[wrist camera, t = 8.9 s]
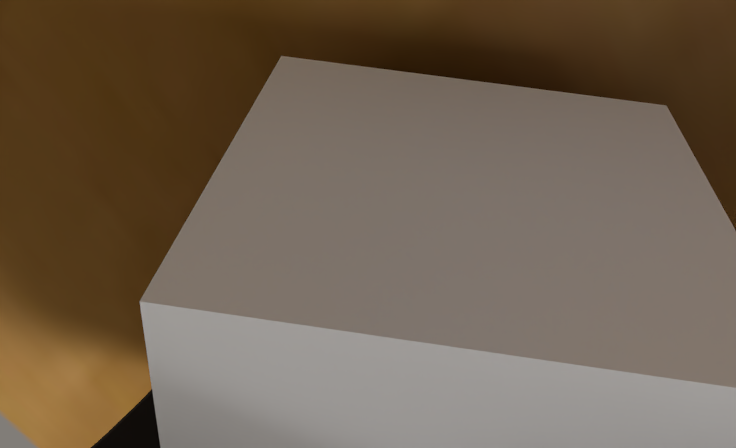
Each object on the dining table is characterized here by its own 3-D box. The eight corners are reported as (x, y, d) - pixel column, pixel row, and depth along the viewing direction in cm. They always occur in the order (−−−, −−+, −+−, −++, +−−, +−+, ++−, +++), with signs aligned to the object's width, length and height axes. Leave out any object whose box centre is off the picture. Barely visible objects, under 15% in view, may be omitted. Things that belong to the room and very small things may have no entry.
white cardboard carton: (281, 55, 11) (140, 300, 6) (666, 105, 11) (830, 402, 6) (275, 440, 17) (199, 722, 12) (526, 479, 17) (552, 783, 12)
